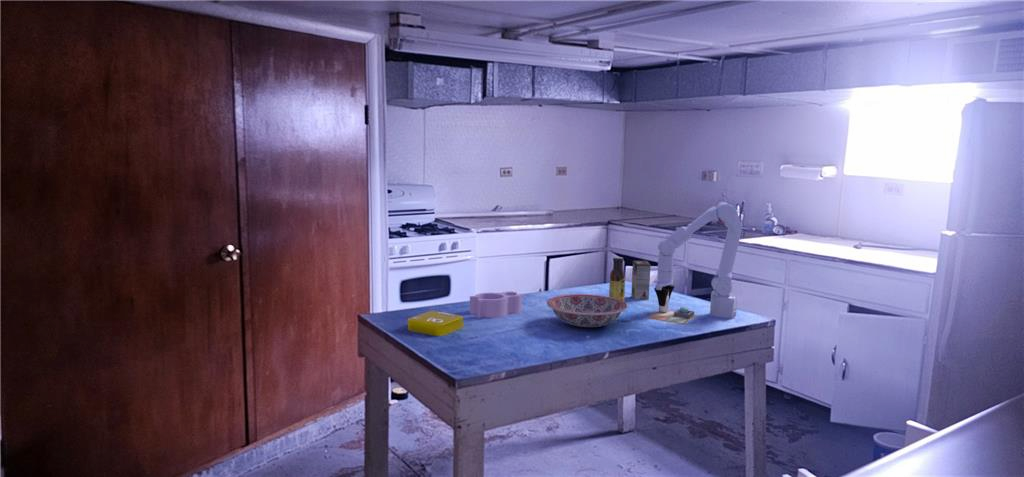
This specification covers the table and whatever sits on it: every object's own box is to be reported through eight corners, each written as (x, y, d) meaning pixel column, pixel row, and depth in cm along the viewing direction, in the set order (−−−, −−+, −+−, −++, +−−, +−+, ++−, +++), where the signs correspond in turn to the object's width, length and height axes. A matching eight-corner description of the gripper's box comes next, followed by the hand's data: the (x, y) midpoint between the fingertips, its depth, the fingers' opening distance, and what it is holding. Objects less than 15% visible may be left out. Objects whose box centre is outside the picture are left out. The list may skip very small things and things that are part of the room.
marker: (669, 310, 257) (670, 290, 256) (666, 312, 254) (667, 292, 253) (660, 309, 259) (661, 289, 258) (657, 311, 256) (658, 291, 255)
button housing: (694, 315, 252) (694, 311, 252) (689, 318, 247) (689, 314, 247) (678, 312, 256) (678, 308, 255) (673, 316, 250) (673, 312, 250)
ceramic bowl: (630, 318, 251) (631, 297, 250) (621, 339, 223) (622, 316, 222) (555, 311, 258) (555, 291, 257) (537, 331, 231) (538, 309, 230)
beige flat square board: (697, 317, 253) (697, 314, 253) (684, 327, 239) (684, 324, 239) (659, 311, 261) (659, 309, 260) (645, 320, 247) (645, 317, 247)
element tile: (465, 327, 236) (465, 314, 235) (439, 338, 223) (439, 324, 222) (431, 321, 243) (431, 308, 242) (405, 331, 230) (405, 317, 230)
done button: (689, 312, 252) (689, 307, 252) (686, 314, 249) (687, 309, 249) (681, 311, 253) (681, 306, 253) (678, 313, 251) (678, 308, 250)
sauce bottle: (623, 308, 266) (625, 259, 263) (608, 307, 267) (610, 258, 264) (624, 304, 272) (626, 256, 269) (609, 303, 273) (611, 255, 270)
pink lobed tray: (510, 306, 266) (511, 289, 265) (527, 313, 255) (527, 296, 254) (466, 312, 256) (466, 294, 255) (481, 320, 245) (481, 301, 244)
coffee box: (630, 296, 286) (632, 260, 283) (645, 297, 285) (647, 260, 283) (634, 301, 276) (635, 264, 274) (649, 302, 276) (651, 264, 274)
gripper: (661, 266, 262) (660, 299, 264) (648, 272, 250) (647, 307, 252) (678, 268, 259) (677, 302, 261) (666, 274, 247) (665, 309, 249)
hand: (663, 304), depth 256 cm, fingers closed on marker, 4 cm apart
